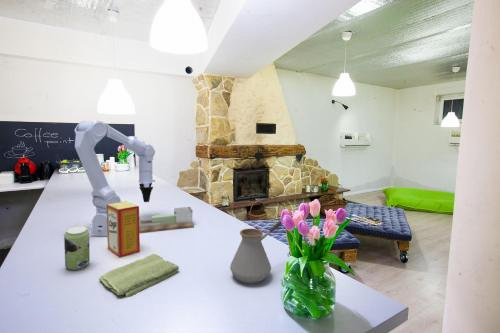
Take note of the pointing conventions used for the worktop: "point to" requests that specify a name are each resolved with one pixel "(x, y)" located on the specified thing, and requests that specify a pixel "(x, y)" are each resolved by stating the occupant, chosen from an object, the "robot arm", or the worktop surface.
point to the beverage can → (76, 247)
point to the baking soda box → (123, 228)
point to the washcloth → (138, 275)
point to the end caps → (181, 218)
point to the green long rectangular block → (164, 219)
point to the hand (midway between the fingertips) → (146, 200)
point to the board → (165, 227)
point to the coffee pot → (251, 257)
